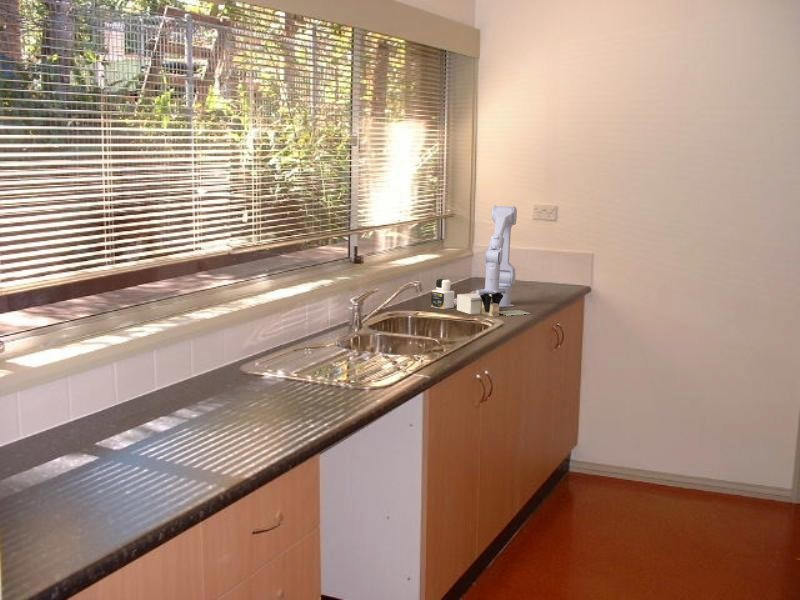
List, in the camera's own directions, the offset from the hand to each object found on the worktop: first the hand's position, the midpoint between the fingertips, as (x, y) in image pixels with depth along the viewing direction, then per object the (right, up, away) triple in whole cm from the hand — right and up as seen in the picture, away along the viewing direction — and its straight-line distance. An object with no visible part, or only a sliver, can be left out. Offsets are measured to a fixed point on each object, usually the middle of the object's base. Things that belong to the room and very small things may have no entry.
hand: (490, 311), depth 390 cm
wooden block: (-1, -1, +2) cm, 2 cm away
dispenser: (-5, 0, +8) cm, 10 cm away
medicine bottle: (-19, +1, +15) cm, 24 cm away
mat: (+10, -1, +5) cm, 11 cm away
